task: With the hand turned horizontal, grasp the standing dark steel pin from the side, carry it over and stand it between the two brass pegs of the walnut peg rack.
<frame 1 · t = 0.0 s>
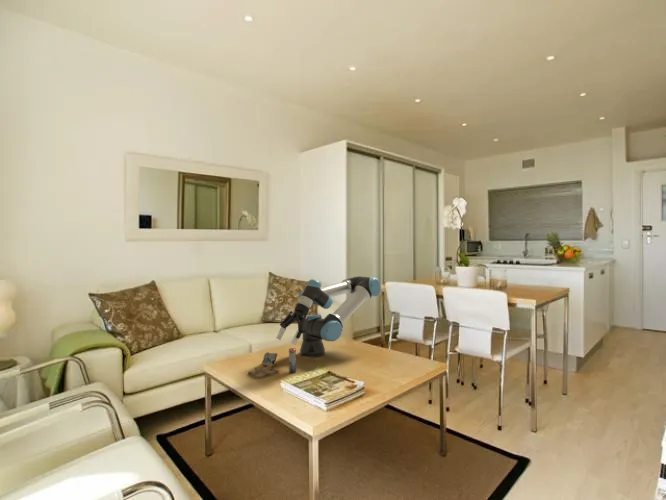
hand: (285, 341, 197), 15 cm above the table, tool tilted 35°, fingers open, 13 cm apart
pin: (292, 372, 195), on the table
mineral specimen: (270, 364, 208), on the table
peg rack: (263, 373, 193), on the table
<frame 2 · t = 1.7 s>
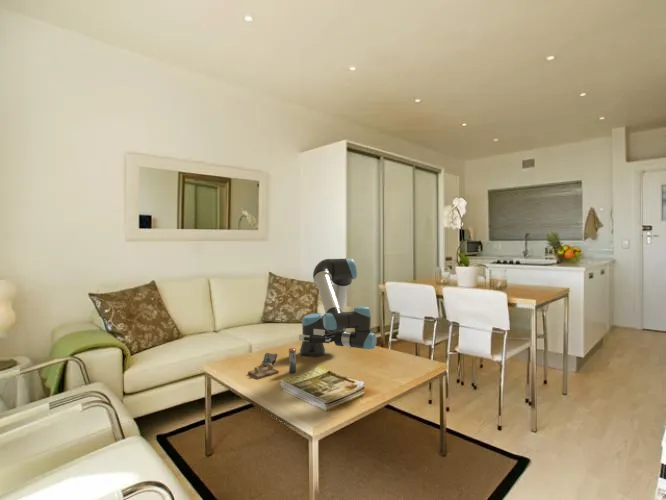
hand: (306, 334, 190), 21 cm above the table, tool horizontal, fingers open, 13 cm apart
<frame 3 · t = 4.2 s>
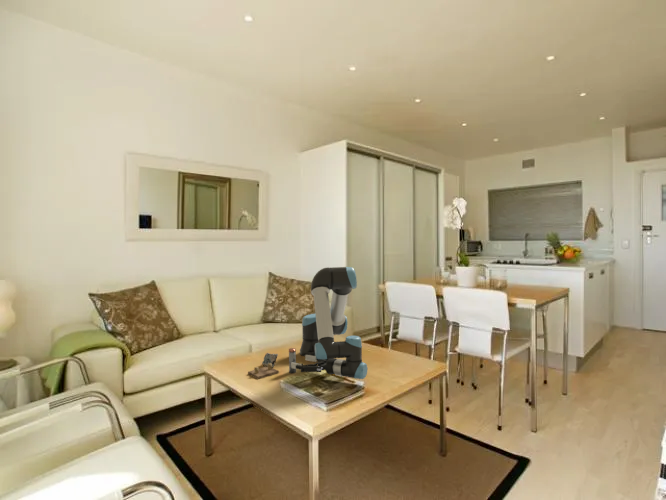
hand: (298, 361, 192), 6 cm above the table, tool horizontal, fingers open, 13 cm apart
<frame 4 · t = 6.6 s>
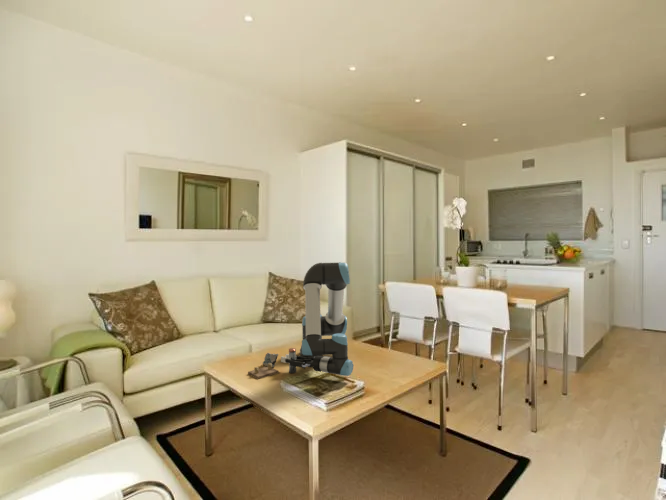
hand: (283, 358, 197), 7 cm above the table, tool horizontal, fingers closed on pin, 3 cm apart
pin: (292, 372, 195), on the table, touching gripper
mineral specimen: (271, 365, 207), on the table, touching peg rack
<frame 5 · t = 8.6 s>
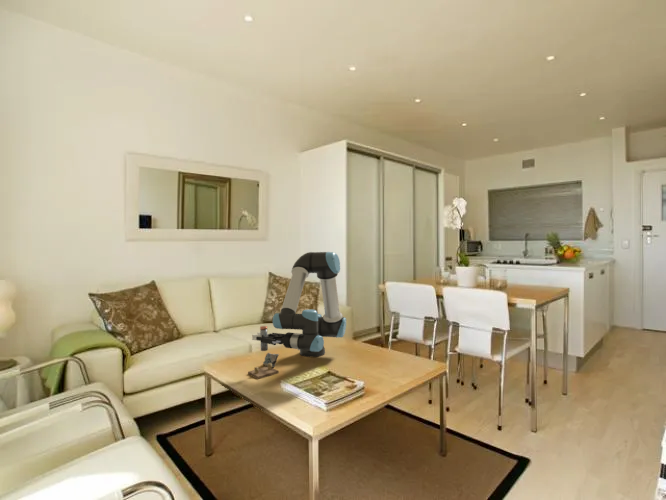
hand: (255, 336, 195), 19 cm above the table, tool horizontal, fingers closed on pin, 3 cm apart
pin: (264, 350, 192), point 12 cm above the table, touching gripper
mineral specimen: (272, 365, 207), on the table
when the fingers open (9 cm above the table, at t = 10.7 s): pin drops 1 cm, resting on peg rack.
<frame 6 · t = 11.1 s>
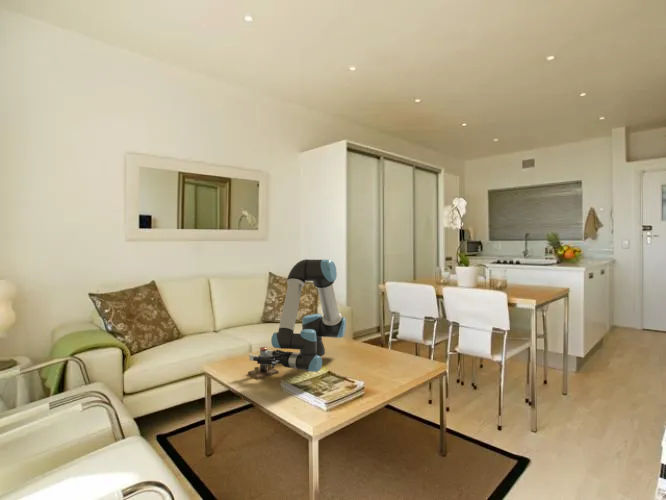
hand: (256, 354, 195), 9 cm above the table, tool horizontal, fingers open, 9 cm apart
pin: (263, 371, 193), point 1 cm above the table, touching peg rack
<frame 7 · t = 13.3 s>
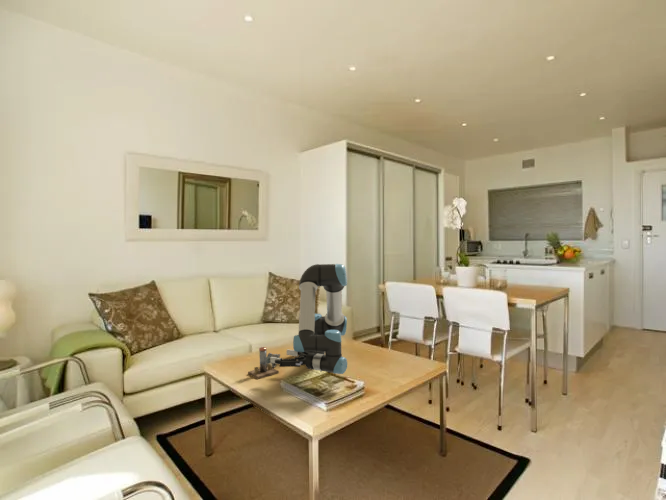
hand: (279, 355, 188), 11 cm above the table, tool horizontal, fingers open, 13 cm apart
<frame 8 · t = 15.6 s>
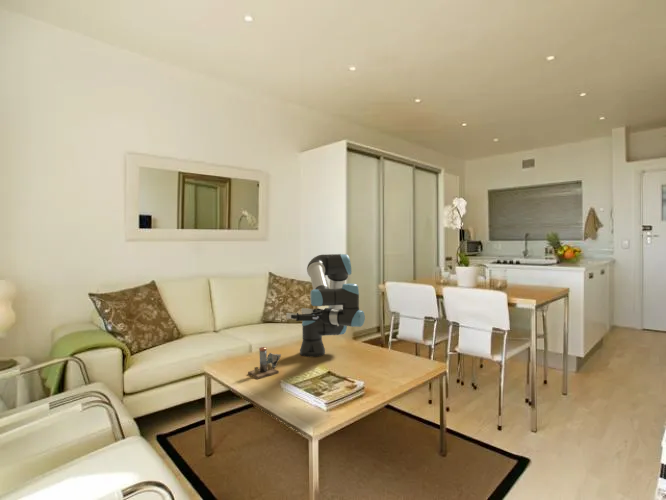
hand: (294, 313, 187), 32 cm above the table, tool horizontal, fingers open, 13 cm apart
at the end: pin 0.0 cm off-centre on the peg rack, point 1.2 cm above the peg rack's base; pin tilted 0°; the gripper is holding nothing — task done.
